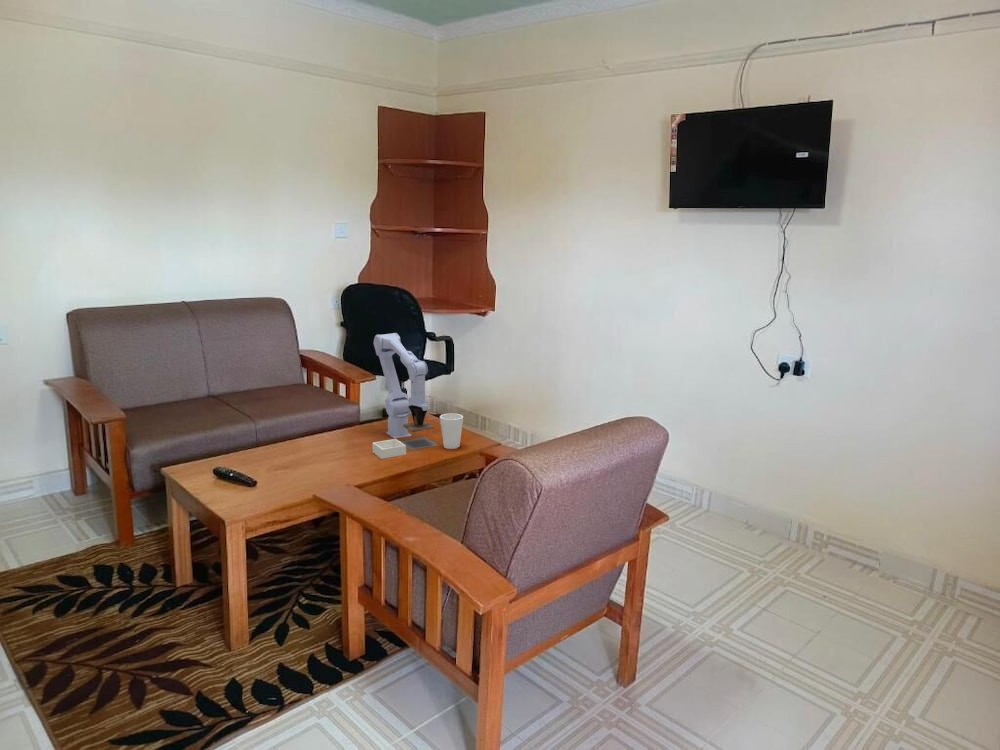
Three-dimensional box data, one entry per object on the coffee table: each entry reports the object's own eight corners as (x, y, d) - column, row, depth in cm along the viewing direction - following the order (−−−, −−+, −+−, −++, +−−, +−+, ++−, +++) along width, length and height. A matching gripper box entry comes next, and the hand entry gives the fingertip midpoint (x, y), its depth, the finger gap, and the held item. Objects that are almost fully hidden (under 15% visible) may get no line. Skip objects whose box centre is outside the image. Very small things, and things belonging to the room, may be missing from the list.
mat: (399, 442, 292) (399, 441, 292) (425, 438, 298) (425, 437, 298) (411, 450, 282) (411, 449, 282) (438, 446, 288) (438, 445, 288)
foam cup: (464, 444, 291) (464, 414, 288) (461, 451, 282) (461, 420, 279) (442, 443, 291) (441, 413, 289) (437, 450, 282) (437, 419, 280)
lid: (403, 426, 290) (402, 414, 289) (424, 423, 295) (423, 411, 294) (412, 432, 282) (412, 420, 281) (434, 428, 287) (433, 416, 286)
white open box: (372, 452, 280) (372, 442, 279) (396, 448, 285) (395, 438, 284) (382, 459, 271) (382, 449, 270) (406, 455, 276) (406, 445, 275)
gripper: (434, 394, 281) (435, 426, 284) (419, 386, 293) (419, 417, 296) (418, 396, 277) (419, 429, 280) (403, 388, 289) (404, 420, 292)
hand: (418, 423), depth 288 cm, fingers closed on lid, 3 cm apart
